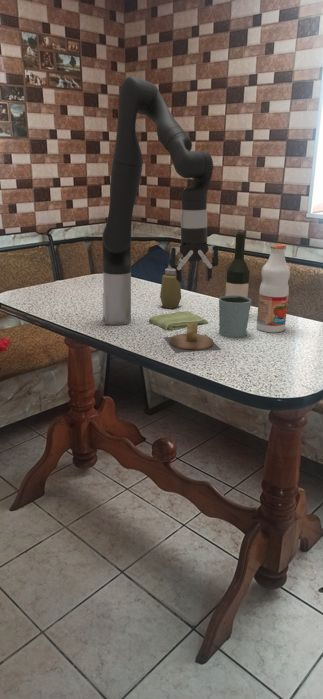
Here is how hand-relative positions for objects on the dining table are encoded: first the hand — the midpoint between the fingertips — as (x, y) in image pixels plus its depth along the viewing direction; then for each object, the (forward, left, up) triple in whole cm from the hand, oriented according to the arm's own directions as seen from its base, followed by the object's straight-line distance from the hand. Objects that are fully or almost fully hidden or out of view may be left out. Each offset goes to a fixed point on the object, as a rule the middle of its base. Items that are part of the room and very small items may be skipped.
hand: (193, 281), depth 156 cm
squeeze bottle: (+4, +41, -19) cm, 45 cm away
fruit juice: (+30, +8, -19) cm, 36 cm away
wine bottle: (+24, +25, -19) cm, 39 cm away
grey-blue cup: (+15, +4, -19) cm, 25 cm away
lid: (-1, -3, -18) cm, 19 cm away
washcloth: (+1, +19, -20) cm, 27 cm away
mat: (-1, -3, -19) cm, 19 cm away
